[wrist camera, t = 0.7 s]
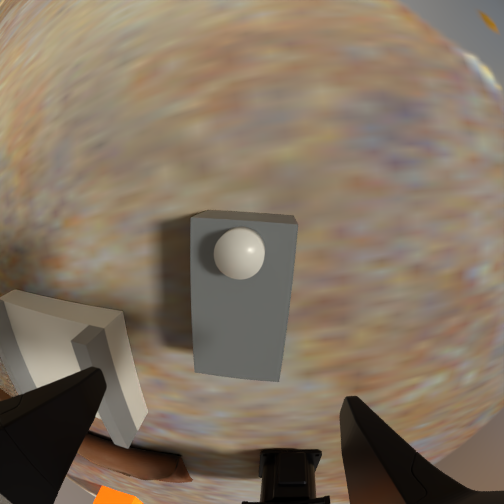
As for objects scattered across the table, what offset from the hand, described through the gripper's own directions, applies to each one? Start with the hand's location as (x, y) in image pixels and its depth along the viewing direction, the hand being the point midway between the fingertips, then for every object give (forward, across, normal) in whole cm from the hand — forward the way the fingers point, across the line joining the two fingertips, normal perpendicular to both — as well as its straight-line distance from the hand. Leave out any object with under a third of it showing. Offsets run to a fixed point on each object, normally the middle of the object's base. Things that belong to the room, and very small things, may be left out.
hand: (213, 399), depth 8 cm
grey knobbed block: (+11, 0, 0) cm, 11 cm away
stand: (+11, +18, +9) cm, 23 cm away
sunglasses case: (+12, +16, +27) cm, 34 cm away
